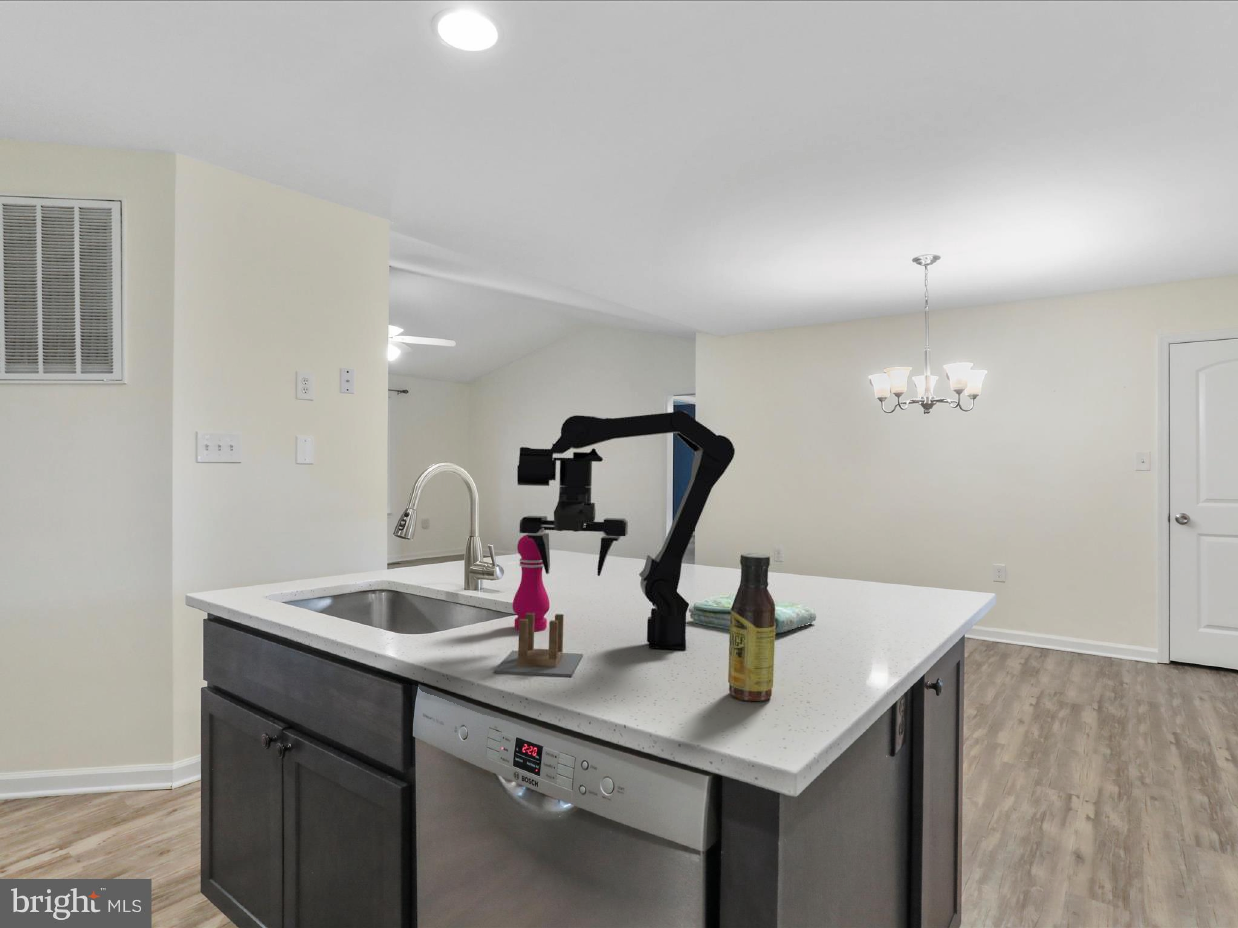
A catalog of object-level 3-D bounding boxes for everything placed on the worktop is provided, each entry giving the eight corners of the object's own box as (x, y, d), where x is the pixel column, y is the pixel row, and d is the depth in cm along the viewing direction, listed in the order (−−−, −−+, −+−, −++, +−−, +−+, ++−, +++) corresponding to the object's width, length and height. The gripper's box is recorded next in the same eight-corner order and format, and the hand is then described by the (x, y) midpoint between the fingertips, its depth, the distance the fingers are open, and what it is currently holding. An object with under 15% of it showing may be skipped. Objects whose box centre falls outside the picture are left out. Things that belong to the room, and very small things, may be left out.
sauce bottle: (723, 689, 100) (726, 551, 100) (765, 689, 101) (768, 551, 101) (734, 704, 94) (737, 556, 94) (779, 704, 94) (782, 557, 94)
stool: (562, 657, 114) (563, 614, 114) (556, 667, 108) (557, 621, 108) (526, 655, 114) (527, 612, 114) (517, 665, 108) (519, 620, 108)
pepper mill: (552, 624, 140) (554, 525, 140) (544, 632, 132) (547, 527, 133) (516, 623, 140) (519, 523, 141) (507, 631, 133) (510, 526, 133)
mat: (582, 656, 116) (582, 653, 116) (571, 676, 104) (571, 674, 104) (512, 652, 117) (512, 650, 117) (493, 672, 105) (493, 670, 105)
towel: (728, 611, 160) (728, 589, 160) (817, 626, 146) (817, 601, 147) (685, 623, 145) (685, 599, 145) (779, 641, 132) (780, 614, 132)
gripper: (513, 486, 117) (510, 579, 117) (623, 489, 115) (621, 583, 115) (527, 485, 128) (525, 570, 128) (628, 487, 126) (626, 574, 126)
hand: (573, 574), depth 124 cm, fingers open, 9 cm apart
